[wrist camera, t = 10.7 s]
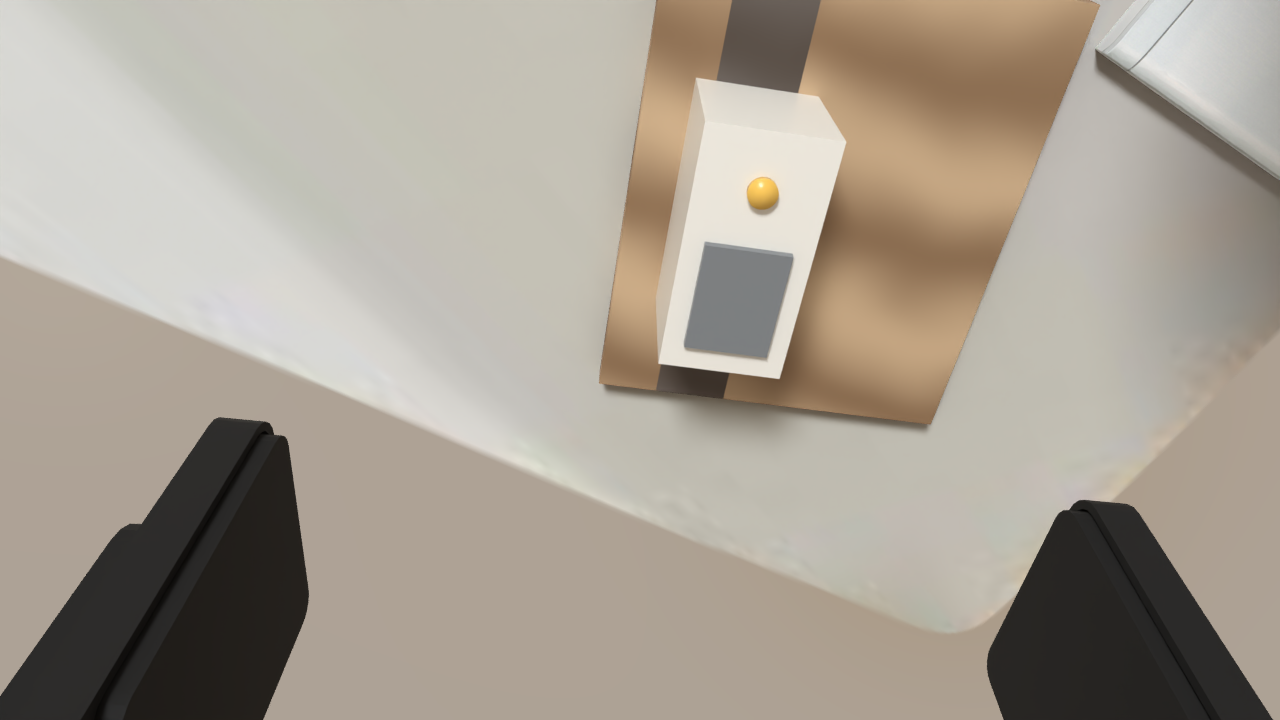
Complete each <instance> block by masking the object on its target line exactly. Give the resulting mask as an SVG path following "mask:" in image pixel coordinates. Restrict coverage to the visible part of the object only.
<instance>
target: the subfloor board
mask: <svg viewBox="0 0 1280 720" xmlns="http://www.w3.org/2000/svg"><path fill="white" fill-rule="evenodd" d="M1099 7H1100V5H1099V4H1097V3H1095V2H1092V1H1090V0H656V7H655V13H654V20H653V26H652V33H651V39H650V46H649V53H648V59H647V66H646V72H645V79H644V85H643V92H642V98H641V105H640V111H639V118H638V125H637V131H636V138H635V144H634V151H633V157H632V164H631V170H630V177H629V184H628V190H627V197H626V203H625V210H624V216H623V223H622V229H621V236H620V242H619V249H618V256H617V262H616V269H615V275H614V282H613V288H612V295H611V301H610V308H609V315H608V321H607V328H606V334H605V341H604V347H603V354H602V360H601V367H600V377H599V384H608V385H616V386H624V387H632V388H640V389H648V390H656V391H664V392H672V393H680V394H688V395H697V396H705V397H713V398H721V399H729V400H737V401H745V402H753V403H761V404H769V405H777V406H786V407H794V408H802V409H810V410H818V411H826V412H834V413H842V414H850V415H858V416H866V417H875V418H883V419H891V420H899V421H907V422H915V423H923V424H931V422H932V420H933V417H934V415H935V412H936V410H937V407H938V405H939V402H940V400H941V398H942V395H943V393H944V390H945V388H946V385H947V383H948V380H949V378H950V375H951V373H952V370H953V368H954V365H955V363H956V360H957V358H958V355H959V353H960V351H961V348H962V346H963V343H964V341H965V338H966V336H967V333H968V331H969V328H970V326H971V323H972V321H973V318H974V316H975V313H976V311H977V309H978V306H979V304H980V301H981V299H982V296H983V294H984V291H985V289H986V286H987V284H988V281H989V279H990V276H991V274H992V271H993V269H994V266H995V264H996V262H997V259H998V257H999V254H1000V252H1001V249H1002V247H1003V244H1004V242H1005V239H1006V237H1007V234H1008V232H1009V229H1010V227H1011V224H1012V222H1013V220H1014V217H1015V215H1016V212H1017V210H1018V207H1019V205H1020V202H1021V200H1022V197H1023V195H1024V192H1025V190H1026V187H1027V185H1028V182H1029V180H1030V177H1031V175H1032V173H1033V170H1034V168H1035V165H1036V163H1037V160H1038V158H1039V155H1040V153H1041V150H1042V148H1043V145H1044V143H1045V140H1046V138H1047V135H1048V133H1049V131H1050V128H1051V126H1052V123H1053V121H1054V118H1055V116H1056V113H1057V111H1058V108H1059V106H1060V103H1061V101H1062V98H1063V96H1064V93H1065V91H1066V88H1067V86H1068V84H1069V81H1070V79H1071V76H1072V74H1073V71H1074V69H1075V66H1076V64H1077V61H1078V59H1079V56H1080V54H1081V51H1082V49H1083V46H1084V44H1085V42H1086V39H1087V37H1088V34H1089V32H1090V29H1091V27H1092V24H1093V22H1094V19H1095V17H1096V14H1097V12H1098V9H1099ZM696 78H701V79H708V80H714V81H721V82H727V83H734V84H740V85H747V86H753V87H760V88H766V89H773V90H779V91H786V92H792V93H799V94H805V95H812V96H818V97H819V98H820V100H821V101H822V103H823V104H824V106H825V108H826V109H827V111H828V113H829V114H830V116H831V118H832V119H833V121H834V122H835V124H836V126H837V127H838V129H839V131H840V132H841V134H842V136H843V137H844V139H845V140H846V145H845V149H844V152H843V156H842V159H841V163H840V167H839V170H838V174H837V177H836V181H835V184H834V188H833V191H832V195H831V198H830V202H829V205H828V209H827V213H826V216H825V220H824V223H823V227H822V230H821V234H820V237H819V241H818V244H817V248H816V251H815V255H814V259H813V262H812V266H811V269H810V273H809V276H808V280H807V283H806V287H805V290H804V294H803V298H802V301H801V305H800V308H799V312H798V315H797V319H796V322H795V326H794V329H793V333H792V336H791V340H790V344H789V347H788V351H787V354H786V358H785V361H784V365H783V368H782V372H781V375H780V379H776V378H768V377H760V376H752V375H744V374H736V373H728V372H720V371H712V370H704V369H697V368H689V367H681V366H673V365H665V364H658V343H657V318H656V294H657V288H658V283H659V277H660V272H661V266H662V261H663V255H664V250H665V244H666V239H667V233H668V228H669V223H670V217H671V212H672V206H673V201H674V195H675V190H676V184H677V179H678V173H679V168H680V162H681V157H682V151H683V146H684V141H685V135H686V130H687V124H688V119H689V113H690V108H691V102H692V97H693V91H694V86H695V80H696Z"/></svg>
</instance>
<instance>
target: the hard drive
mask: <svg viewBox="0 0 1280 720" xmlns="http://www.w3.org/2000/svg"><path fill="white" fill-rule="evenodd" d="M1095 49H1096V50H1097V51H1098V52H1099V53H1101V54H1102V55H1104V56H1105V57H1106V58H1108V59H1109V60H1111V61H1112V62H1113V63H1115V64H1116V65H1118V66H1119V67H1120V68H1122V69H1123V70H1125V71H1126V72H1127V73H1129V74H1130V75H1131V76H1133V77H1134V78H1136V79H1137V80H1138V81H1140V82H1141V83H1143V84H1144V85H1145V86H1147V87H1148V88H1150V89H1151V90H1152V91H1154V92H1155V93H1157V94H1158V95H1159V96H1161V97H1162V98H1164V99H1165V100H1166V101H1168V102H1169V103H1171V104H1172V105H1173V106H1175V107H1176V108H1178V109H1179V110H1180V111H1182V112H1183V113H1185V114H1186V115H1188V116H1189V117H1190V118H1192V119H1193V120H1195V121H1196V122H1197V123H1199V124H1200V125H1202V126H1203V127H1205V128H1206V129H1207V130H1209V131H1210V132H1211V133H1213V134H1214V135H1216V136H1217V137H1219V138H1220V139H1221V140H1223V141H1224V142H1226V143H1227V144H1229V145H1230V146H1231V147H1233V148H1234V149H1236V150H1237V151H1238V152H1240V153H1241V154H1243V155H1244V156H1245V157H1247V158H1248V159H1250V160H1251V161H1252V162H1254V163H1255V164H1257V165H1258V166H1260V167H1261V168H1262V169H1264V170H1265V171H1267V172H1268V173H1269V174H1271V175H1272V176H1274V177H1275V178H1276V179H1278V180H1279V181H1280V0H1135V1H1134V2H1133V3H1132V4H1131V6H1130V7H1129V8H1128V9H1127V11H1126V12H1125V13H1124V14H1123V15H1122V17H1121V18H1120V19H1119V20H1118V21H1117V23H1116V24H1115V25H1114V26H1113V28H1112V29H1111V30H1110V31H1109V32H1108V34H1107V35H1106V36H1105V37H1104V38H1103V40H1102V41H1101V42H1100V43H1099V44H1098V45H1097V47H1096V48H1095Z"/></svg>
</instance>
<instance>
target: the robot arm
mask: <svg viewBox="0 0 1280 720" xmlns="http://www.w3.org/2000/svg"><path fill="white" fill-rule="evenodd" d="M308 598H309V590H308V582H307V575H306V568H305V561H304V554H303V546H302V539H301V532H300V525H299V518H298V510H297V503H296V496H295V489H294V482H293V474H292V467H291V460H290V453H289V445H288V441H287V439H286V437H284V436H279V435H274V433H273V428H272V427H271V425H270V423H268V422H263V421H252V420H242V419H231V418H221V417H220V418H217V419H214V420H213V422H212V423H211V424H210V425H209V426H208V428H207V429H206V430H205V432H204V434H203V435H202V436H201V438H200V439H199V441H198V442H197V444H196V445H195V447H194V448H193V450H192V451H191V453H190V454H189V455H188V457H187V458H186V460H185V461H184V463H183V464H182V466H181V467H180V469H179V470H178V472H177V473H176V474H175V476H174V477H173V479H172V480H171V482H170V483H169V485H168V486H167V488H166V489H165V491H164V492H163V494H162V495H161V496H160V498H159V499H158V501H157V502H156V504H155V505H154V507H153V508H152V510H151V511H150V513H149V514H148V515H147V517H146V519H145V520H144V521H143V523H142V524H129V525H127V526H125V527H124V528H122V529H120V530H119V532H118V533H117V534H116V535H115V536H114V537H113V538H112V539H111V541H110V542H109V543H108V545H107V546H106V548H105V549H104V551H103V552H102V553H101V555H100V556H99V558H98V559H97V560H96V562H95V563H94V565H93V566H92V568H91V569H90V570H89V572H88V573H87V574H86V576H85V577H84V579H83V580H82V581H81V583H80V584H79V586H78V587H77V589H76V590H75V591H74V593H73V594H72V596H71V597H70V598H69V600H68V601H67V603H66V604H65V605H64V607H63V608H62V610H61V611H60V613H59V614H58V615H57V617H56V618H55V620H54V621H53V622H52V624H51V625H50V627H49V628H48V630H47V631H46V632H45V634H44V635H43V637H42V638H41V639H40V641H39V642H38V644H37V645H36V646H35V648H34V649H33V651H32V652H31V654H30V655H29V656H28V658H27V659H26V661H25V662H24V663H23V665H22V666H21V668H20V669H19V670H18V672H17V673H16V675H15V676H14V678H13V679H12V680H11V682H10V683H9V685H8V686H7V688H6V689H5V690H4V692H3V693H2V694H1V696H0V720H263V718H264V716H265V714H266V711H267V709H268V707H269V704H270V702H271V699H272V697H273V694H274V692H275V690H276V687H277V685H278V682H279V680H280V677H281V675H282V673H283V670H284V668H285V665H286V663H287V660H288V658H289V656H290V653H291V651H292V649H293V646H294V644H295V641H296V639H297V637H298V634H299V632H300V629H301V627H302V624H303V622H304V619H305V615H306V612H307V606H308ZM987 670H988V677H989V680H990V683H991V686H992V689H993V691H994V694H995V697H996V700H997V702H998V705H999V708H1000V711H1001V714H1002V716H1003V719H1004V720H1273V719H1272V718H1271V716H1270V715H1269V713H1268V711H1267V710H1266V708H1265V707H1264V705H1263V704H1262V702H1261V701H1260V699H1259V698H1258V696H1257V695H1256V693H1255V691H1254V690H1253V689H1252V687H1251V685H1250V684H1249V682H1248V681H1247V679H1246V678H1245V676H1244V675H1243V673H1242V671H1241V670H1240V668H1239V667H1238V665H1237V664H1236V662H1235V661H1234V659H1233V658H1232V656H1231V655H1230V653H1229V651H1228V650H1227V648H1226V647H1225V645H1224V644H1223V642H1222V641H1221V639H1220V638H1219V636H1218V634H1217V633H1216V631H1215V630H1214V628H1213V627H1212V625H1211V624H1210V622H1209V621H1208V619H1207V617H1206V616H1205V614H1204V613H1203V611H1202V610H1201V608H1200V607H1199V605H1198V604H1197V602H1196V601H1195V599H1194V597H1193V596H1192V594H1191V593H1190V591H1189V590H1188V589H1187V587H1186V585H1185V584H1184V582H1183V580H1182V579H1181V578H1180V576H1179V574H1178V573H1177V571H1176V570H1175V568H1174V567H1173V565H1172V564H1171V562H1170V561H1169V559H1168V558H1167V556H1166V554H1165V553H1164V551H1163V550H1162V548H1161V547H1160V545H1159V544H1158V542H1157V540H1156V539H1155V537H1154V536H1153V534H1152V533H1151V531H1150V530H1149V528H1148V527H1147V525H1146V523H1145V522H1144V521H1143V519H1142V517H1141V516H1140V514H1139V513H1138V512H1137V511H1136V509H1135V508H1134V507H1132V506H1130V505H1128V504H1121V503H1111V502H1100V501H1090V500H1079V501H1077V502H1076V503H1074V504H1073V506H1072V507H1071V508H1070V510H1063V511H1062V512H1060V513H1059V514H1058V515H1057V517H1056V518H1055V520H1054V522H1053V524H1052V526H1051V528H1050V530H1049V532H1048V534H1047V536H1046V538H1045V540H1044V542H1043V544H1042V546H1041V548H1040V550H1039V552H1038V554H1037V556H1036V558H1035V560H1034V562H1033V564H1032V566H1031V568H1030V570H1029V572H1028V574H1027V576H1026V578H1025V580H1024V582H1023V584H1022V586H1021V588H1020V590H1019V592H1018V594H1017V596H1016V598H1015V600H1014V602H1013V604H1012V606H1011V608H1010V610H1009V612H1008V614H1007V616H1006V618H1005V620H1004V622H1003V624H1002V626H1001V628H1000V630H999V632H998V634H997V636H996V638H995V640H994V642H993V644H992V646H991V648H990V650H989V653H988V659H987Z"/></svg>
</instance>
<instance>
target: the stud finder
mask: <svg viewBox="0 0 1280 720" xmlns="http://www.w3.org/2000/svg"><path fill="white" fill-rule="evenodd" d="M845 145H846V140H845V139H844V137H843V136H842V134H841V132H840V131H839V129H838V127H837V126H836V124H835V122H834V121H833V119H832V118H831V116H830V114H829V113H828V111H827V109H826V108H825V106H824V104H823V103H822V101H821V100H820V98H819V97H818V96H812V95H805V94H799V93H792V92H786V91H779V90H773V89H766V88H760V87H753V86H747V85H740V84H734V83H727V82H721V81H714V80H708V79H701V78H696V80H695V86H694V91H693V97H692V102H691V108H690V113H689V119H688V124H687V130H686V135H685V141H684V146H683V151H682V157H681V162H680V168H679V173H678V179H677V184H676V190H675V195H674V201H673V206H672V212H671V217H670V223H669V228H668V233H667V239H666V244H665V250H664V255H663V261H662V266H661V272H660V277H659V283H658V288H657V294H656V318H657V343H658V364H665V365H673V366H681V367H689V368H697V369H704V370H712V371H720V372H728V373H736V374H744V375H752V376H760V377H768V378H776V379H780V375H781V372H782V368H783V365H784V361H785V358H786V354H787V351H788V347H789V344H790V340H791V336H792V333H793V329H794V326H795V322H796V319H797V315H798V312H799V308H800V305H801V301H802V298H803V294H804V290H805V287H806V283H807V280H808V276H809V273H810V269H811V266H812V262H813V259H814V255H815V251H816V248H817V244H818V241H819V237H820V234H821V230H822V227H823V223H824V220H825V216H826V213H827V209H828V205H829V202H830V198H831V195H832V191H833V188H834V184H835V181H836V177H837V174H838V170H839V167H840V163H841V159H842V156H843V152H844V149H845Z"/></svg>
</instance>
